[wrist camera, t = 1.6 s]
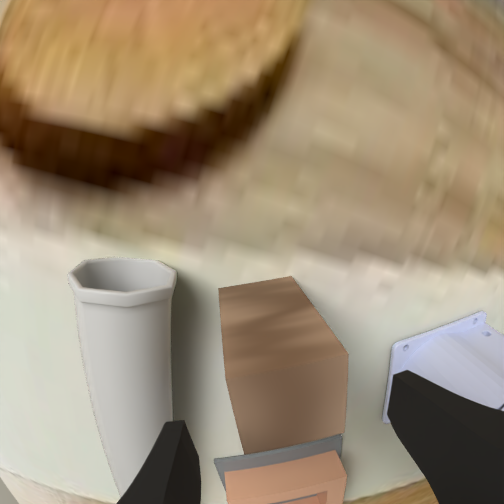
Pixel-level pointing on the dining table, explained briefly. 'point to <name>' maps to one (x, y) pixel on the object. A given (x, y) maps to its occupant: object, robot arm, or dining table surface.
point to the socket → (286, 475)
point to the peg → (281, 366)
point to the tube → (126, 354)
